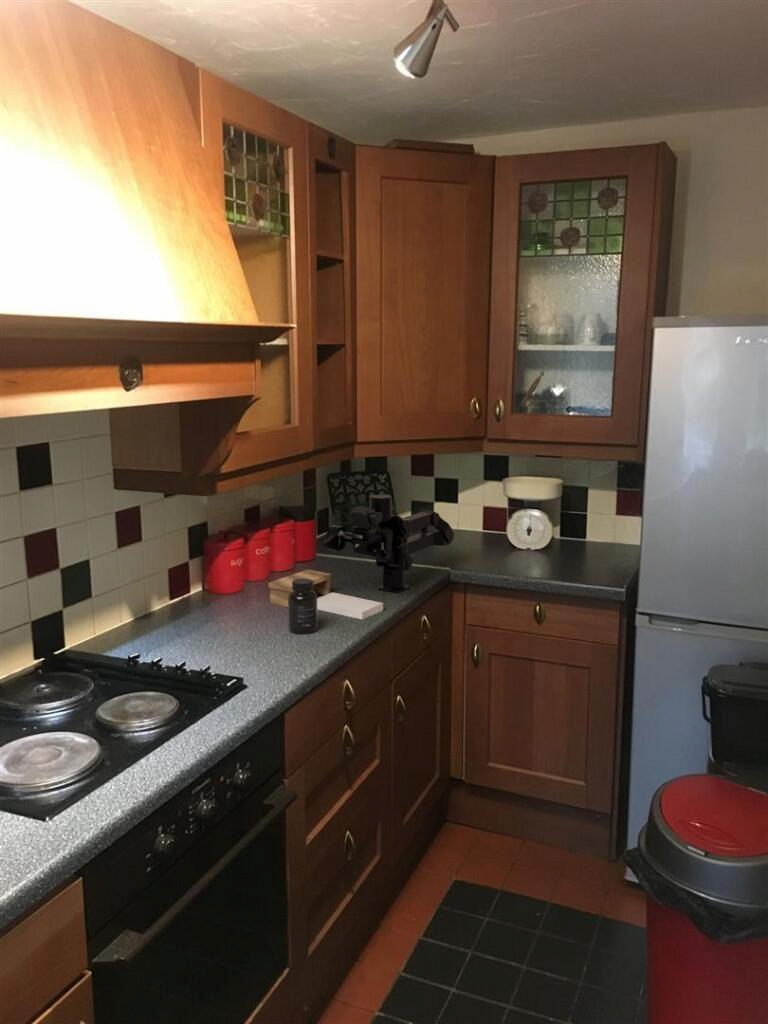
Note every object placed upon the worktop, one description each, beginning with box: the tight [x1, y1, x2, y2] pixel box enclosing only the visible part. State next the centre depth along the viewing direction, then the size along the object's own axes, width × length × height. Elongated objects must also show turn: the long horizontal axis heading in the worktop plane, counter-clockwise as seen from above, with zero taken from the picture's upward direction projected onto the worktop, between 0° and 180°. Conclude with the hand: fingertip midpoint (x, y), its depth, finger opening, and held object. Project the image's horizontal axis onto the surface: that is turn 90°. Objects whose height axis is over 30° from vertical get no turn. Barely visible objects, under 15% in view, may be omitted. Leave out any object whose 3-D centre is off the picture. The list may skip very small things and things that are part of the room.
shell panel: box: [317, 592, 384, 620], centre depth 219 cm, size 9×16×2 cm, turn 56°
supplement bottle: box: [287, 578, 319, 635], centre depth 202 cm, size 7×7×12 cm
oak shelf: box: [268, 569, 332, 608], centre depth 227 cm, size 16×8×6 cm, turn 147°
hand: (339, 547), depth 213 cm, fingers open, 9 cm apart
